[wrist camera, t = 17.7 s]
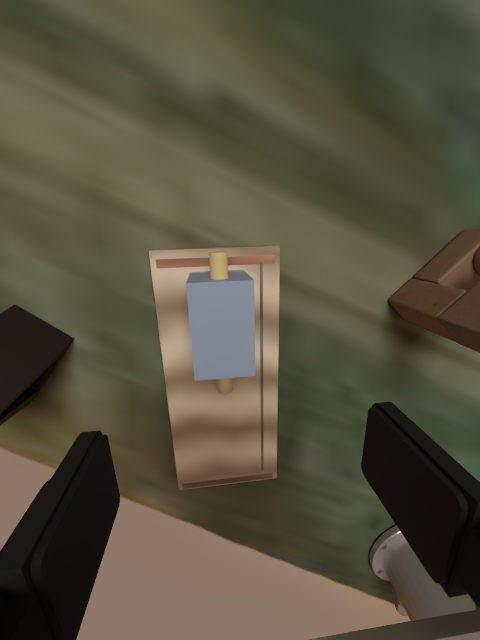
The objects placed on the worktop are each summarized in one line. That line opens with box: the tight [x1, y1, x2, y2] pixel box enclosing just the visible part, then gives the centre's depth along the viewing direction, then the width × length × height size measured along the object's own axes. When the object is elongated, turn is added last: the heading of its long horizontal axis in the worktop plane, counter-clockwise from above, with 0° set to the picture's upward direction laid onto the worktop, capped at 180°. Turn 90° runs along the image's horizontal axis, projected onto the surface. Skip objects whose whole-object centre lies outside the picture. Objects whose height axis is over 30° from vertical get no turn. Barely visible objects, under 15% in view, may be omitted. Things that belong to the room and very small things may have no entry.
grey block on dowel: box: [186, 252, 255, 394], centre depth 24 cm, size 12×5×6 cm, turn 2°
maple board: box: [149, 245, 280, 490], centre depth 30 cm, size 28×12×2 cm, turn 2°
